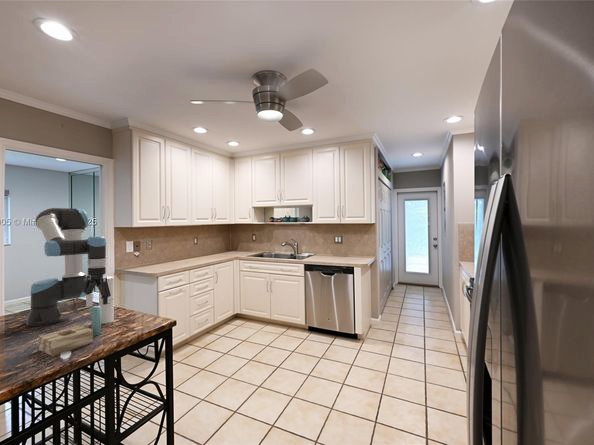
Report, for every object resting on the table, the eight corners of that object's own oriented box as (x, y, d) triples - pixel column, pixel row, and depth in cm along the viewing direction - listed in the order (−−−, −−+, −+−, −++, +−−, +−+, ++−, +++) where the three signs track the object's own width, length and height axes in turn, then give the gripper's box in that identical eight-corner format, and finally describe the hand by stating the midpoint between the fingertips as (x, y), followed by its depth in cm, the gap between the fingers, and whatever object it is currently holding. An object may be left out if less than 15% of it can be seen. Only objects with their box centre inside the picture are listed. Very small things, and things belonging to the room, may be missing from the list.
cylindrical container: (116, 320, 169) (117, 277, 169) (104, 324, 162) (105, 279, 162) (107, 318, 171) (108, 276, 171) (95, 322, 165) (96, 278, 164)
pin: (89, 334, 147) (90, 307, 147) (98, 332, 151) (98, 305, 151) (94, 336, 146) (94, 308, 145) (102, 333, 149) (102, 306, 149)
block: (39, 349, 130) (39, 336, 130) (79, 337, 144) (79, 325, 144) (52, 356, 125) (52, 342, 125) (93, 342, 139) (93, 329, 139)
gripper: (75, 265, 150) (75, 306, 150) (102, 270, 139) (102, 314, 139) (91, 264, 157) (91, 303, 157) (118, 267, 145) (118, 310, 145)
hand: (96, 308), depth 148 cm, fingers open, 13 cm apart
